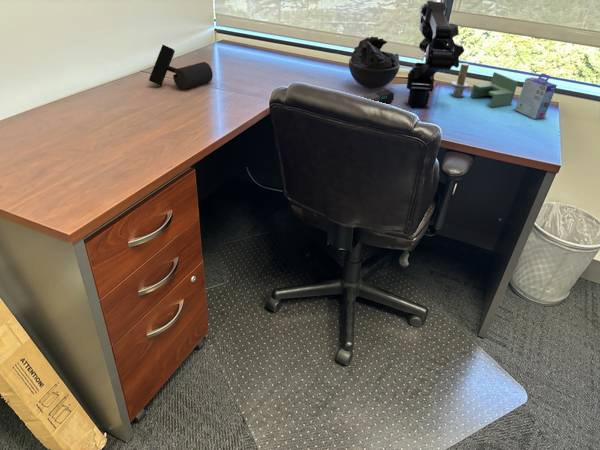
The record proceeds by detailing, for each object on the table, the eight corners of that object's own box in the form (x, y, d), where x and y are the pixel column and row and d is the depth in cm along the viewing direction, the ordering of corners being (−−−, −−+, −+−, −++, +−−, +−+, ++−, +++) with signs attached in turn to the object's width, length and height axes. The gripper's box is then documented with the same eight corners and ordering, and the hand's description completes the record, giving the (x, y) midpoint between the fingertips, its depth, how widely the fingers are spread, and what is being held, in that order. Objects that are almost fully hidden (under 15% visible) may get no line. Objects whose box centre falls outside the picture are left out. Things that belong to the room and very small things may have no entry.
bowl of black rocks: (378, 77, 200) (384, 31, 189) (405, 93, 186) (414, 43, 175) (337, 82, 193) (342, 34, 182) (362, 98, 178) (369, 47, 167)
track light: (217, 69, 185) (170, 47, 183) (212, 62, 171) (161, 38, 169) (203, 105, 187) (156, 84, 185) (196, 101, 173) (145, 78, 171)
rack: (491, 107, 177) (498, 84, 172) (470, 96, 186) (476, 74, 181) (510, 104, 181) (518, 81, 176) (488, 94, 190) (495, 72, 184)
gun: (396, 110, 168) (392, 85, 162) (347, 132, 166) (341, 108, 160) (390, 106, 171) (386, 81, 165) (342, 127, 170) (336, 103, 163)
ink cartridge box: (545, 117, 171) (560, 78, 163) (535, 119, 169) (549, 80, 160) (524, 108, 178) (537, 70, 170) (514, 110, 176) (526, 71, 168)
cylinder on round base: (454, 98, 183) (462, 67, 176) (445, 92, 188) (452, 61, 181) (469, 98, 185) (477, 66, 178) (460, 92, 190) (468, 61, 183)
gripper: (467, 21, 158) (482, 53, 168) (432, 11, 171) (448, 40, 182) (443, 47, 159) (460, 77, 170) (410, 34, 173) (428, 62, 183)
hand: (449, 63), depth 176 cm, fingers open, 9 cm apart
